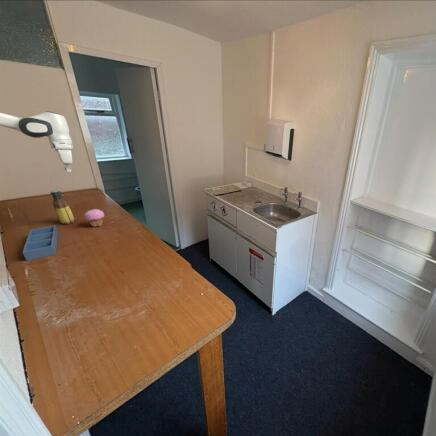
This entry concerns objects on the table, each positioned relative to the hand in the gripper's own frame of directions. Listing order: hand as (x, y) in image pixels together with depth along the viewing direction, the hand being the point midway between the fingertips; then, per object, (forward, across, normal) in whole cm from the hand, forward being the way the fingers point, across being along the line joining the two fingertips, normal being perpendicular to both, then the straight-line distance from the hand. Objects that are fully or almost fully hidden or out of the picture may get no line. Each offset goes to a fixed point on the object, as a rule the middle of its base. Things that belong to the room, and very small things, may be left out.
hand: (68, 171), depth 128 cm
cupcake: (+31, +10, +6) cm, 33 cm away
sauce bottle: (+31, -5, -6) cm, 32 cm away
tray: (+33, +21, -17) cm, 42 cm away
